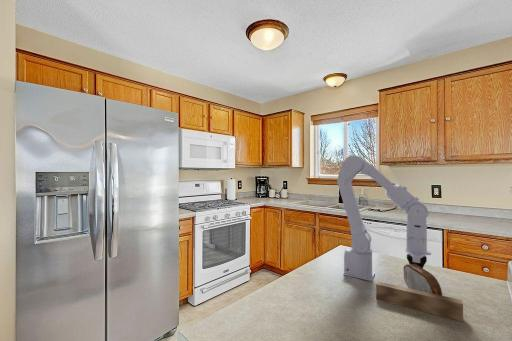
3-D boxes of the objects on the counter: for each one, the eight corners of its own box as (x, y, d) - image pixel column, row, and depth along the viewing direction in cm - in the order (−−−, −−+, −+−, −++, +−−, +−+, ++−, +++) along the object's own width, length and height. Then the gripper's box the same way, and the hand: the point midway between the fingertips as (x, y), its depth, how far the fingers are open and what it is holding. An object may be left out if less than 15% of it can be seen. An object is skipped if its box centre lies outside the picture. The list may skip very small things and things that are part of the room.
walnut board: (376, 299, 73) (376, 284, 73) (377, 295, 75) (377, 281, 75) (463, 321, 62) (463, 304, 62) (461, 317, 64) (461, 299, 64)
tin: (443, 310, 68) (443, 279, 68) (431, 309, 68) (431, 279, 68) (411, 284, 83) (411, 259, 83) (401, 284, 83) (401, 259, 83)
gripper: (432, 244, 75) (432, 289, 75) (430, 234, 87) (430, 272, 87) (404, 240, 79) (404, 283, 79) (406, 231, 91) (406, 268, 91)
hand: (416, 277), depth 83 cm, fingers closed
